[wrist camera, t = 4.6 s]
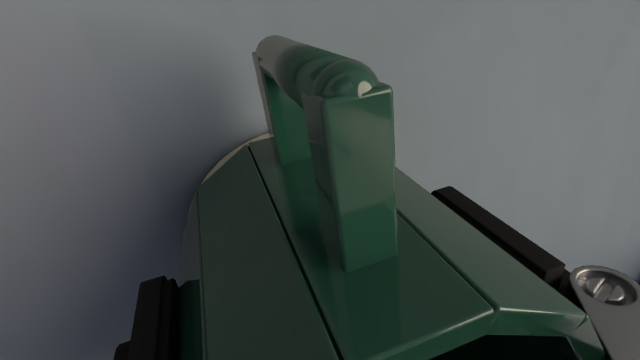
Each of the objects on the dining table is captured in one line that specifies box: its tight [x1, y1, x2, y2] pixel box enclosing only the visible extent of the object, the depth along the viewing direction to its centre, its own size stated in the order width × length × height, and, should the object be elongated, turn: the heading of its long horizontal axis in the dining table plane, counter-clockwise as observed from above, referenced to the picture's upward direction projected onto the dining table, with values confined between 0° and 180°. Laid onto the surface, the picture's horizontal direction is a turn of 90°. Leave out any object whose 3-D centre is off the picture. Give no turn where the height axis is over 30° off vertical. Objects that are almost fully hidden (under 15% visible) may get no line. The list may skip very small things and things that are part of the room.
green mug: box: [177, 35, 607, 360], centre depth 8 cm, size 10×7×8 cm
